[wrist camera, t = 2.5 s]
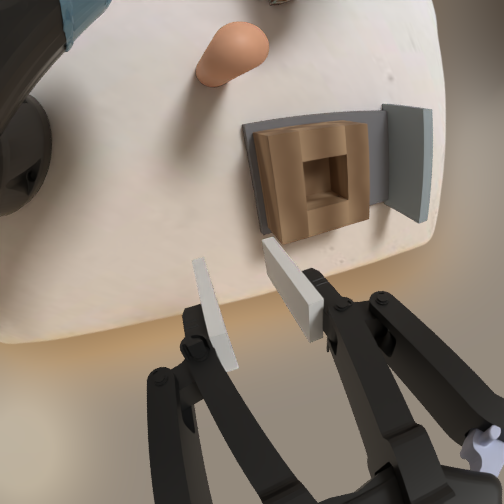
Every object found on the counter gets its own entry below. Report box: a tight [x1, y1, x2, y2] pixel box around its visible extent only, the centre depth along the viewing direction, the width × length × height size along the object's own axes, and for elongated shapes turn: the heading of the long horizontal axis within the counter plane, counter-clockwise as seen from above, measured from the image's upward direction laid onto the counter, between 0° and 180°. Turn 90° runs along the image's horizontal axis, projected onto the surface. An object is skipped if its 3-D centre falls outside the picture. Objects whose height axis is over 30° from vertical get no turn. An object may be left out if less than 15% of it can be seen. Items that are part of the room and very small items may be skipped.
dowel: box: [196, 22, 269, 87], centre depth 20 cm, size 4×4×12 cm
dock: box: [242, 104, 433, 235], centre depth 31 cm, size 23×16×8 cm
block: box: [253, 120, 370, 245], centre depth 30 cm, size 12×12×5 cm
